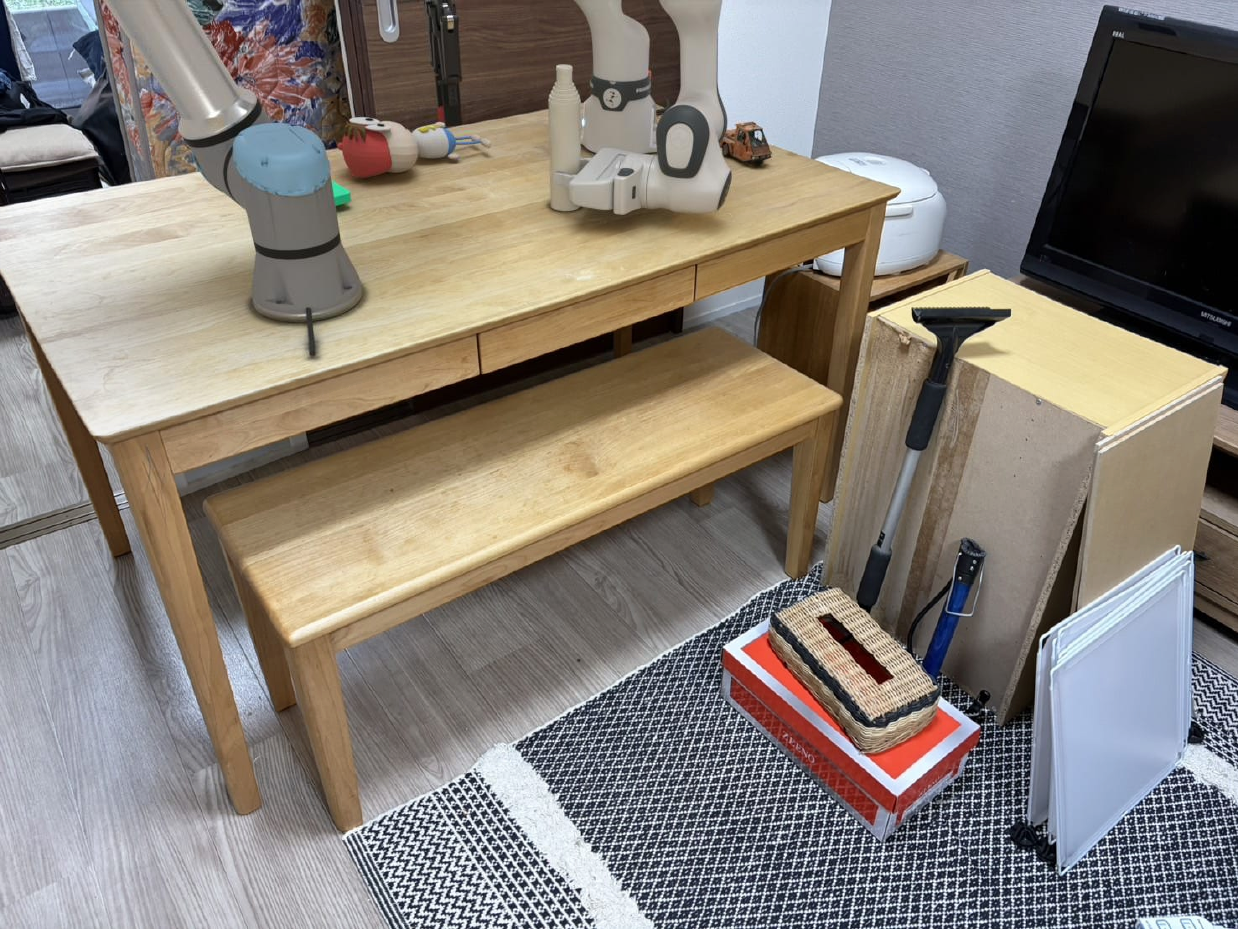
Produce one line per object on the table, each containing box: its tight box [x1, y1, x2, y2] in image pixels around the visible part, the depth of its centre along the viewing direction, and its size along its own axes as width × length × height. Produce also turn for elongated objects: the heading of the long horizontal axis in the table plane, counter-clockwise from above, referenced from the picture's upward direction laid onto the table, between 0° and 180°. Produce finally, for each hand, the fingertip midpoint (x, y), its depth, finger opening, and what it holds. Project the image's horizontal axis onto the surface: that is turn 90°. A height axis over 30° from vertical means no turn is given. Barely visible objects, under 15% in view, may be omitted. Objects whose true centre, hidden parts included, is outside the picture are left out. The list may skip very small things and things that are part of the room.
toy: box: [336, 116, 492, 179], centre depth 179 cm, size 18×10×30 cm
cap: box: [437, 106, 463, 123], centre depth 150 cm, size 4×4×2 cm
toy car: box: [719, 121, 773, 167], centre depth 186 cm, size 6×12×7 cm, turn 39°
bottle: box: [547, 63, 582, 212], centre depth 159 cm, size 5×5×24 cm
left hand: (450, 120), depth 151 cm, fingers closed on cap, 4 cm apart
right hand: (560, 170), depth 162 cm, fingers closed on bottle, 5 cm apart
